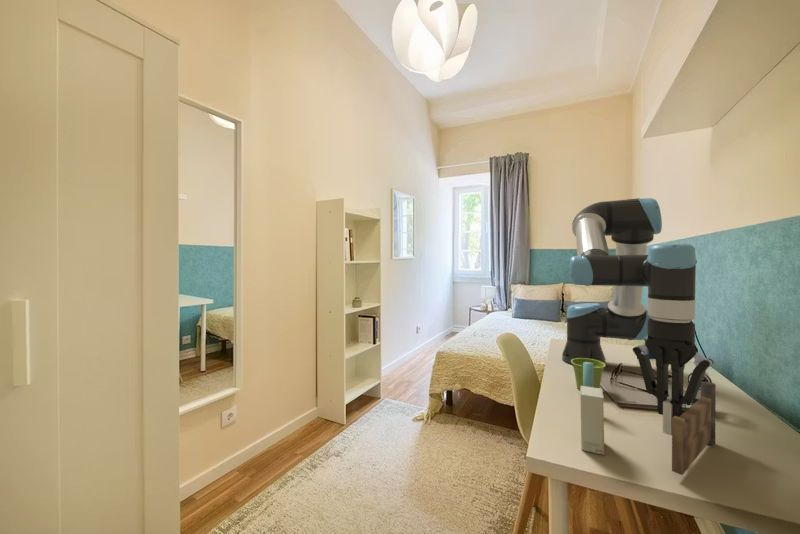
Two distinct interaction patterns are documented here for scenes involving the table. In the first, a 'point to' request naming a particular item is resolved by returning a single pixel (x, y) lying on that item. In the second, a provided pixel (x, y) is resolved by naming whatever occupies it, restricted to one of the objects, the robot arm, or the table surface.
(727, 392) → the table surface
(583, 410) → the skincare box
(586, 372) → the post
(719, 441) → the table surface
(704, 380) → the watch
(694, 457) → the gate
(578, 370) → the plant pot
